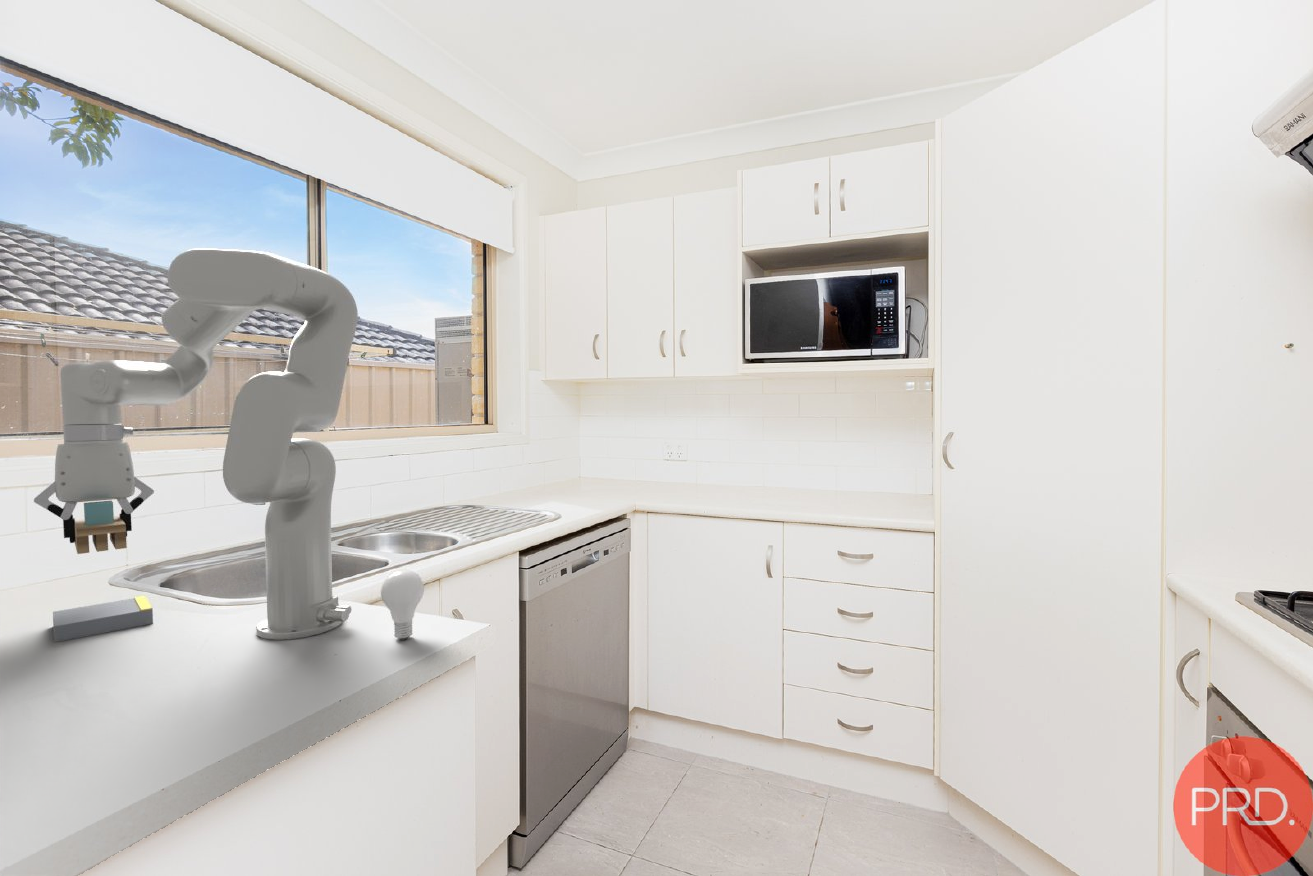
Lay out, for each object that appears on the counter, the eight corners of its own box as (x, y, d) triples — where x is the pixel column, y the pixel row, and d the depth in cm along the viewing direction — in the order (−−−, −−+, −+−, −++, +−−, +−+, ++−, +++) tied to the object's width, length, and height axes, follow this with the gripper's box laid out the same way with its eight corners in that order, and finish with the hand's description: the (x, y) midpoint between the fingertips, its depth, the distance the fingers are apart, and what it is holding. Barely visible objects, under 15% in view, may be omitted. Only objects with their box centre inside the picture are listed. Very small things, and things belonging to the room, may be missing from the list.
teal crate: (114, 523, 104) (113, 502, 104) (85, 526, 102) (84, 504, 102) (112, 520, 107) (111, 500, 107) (84, 523, 104) (83, 502, 104)
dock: (153, 623, 106) (152, 607, 106) (55, 642, 97) (54, 625, 97) (145, 610, 113) (144, 595, 113) (53, 626, 104) (52, 610, 104)
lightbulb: (433, 635, 100) (432, 568, 100) (402, 649, 94) (401, 577, 94) (404, 629, 103) (403, 563, 102) (372, 642, 97) (371, 573, 96)
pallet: (126, 548, 103) (125, 524, 103) (77, 554, 99) (76, 529, 99) (120, 538, 112) (119, 516, 112) (74, 543, 108) (73, 520, 107)
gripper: (154, 433, 115) (159, 529, 116) (22, 436, 103) (28, 543, 104) (160, 433, 110) (164, 534, 111) (21, 437, 98) (27, 550, 99)
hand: (98, 537), depth 108 cm, fingers closed on pallet, 6 cm apart
